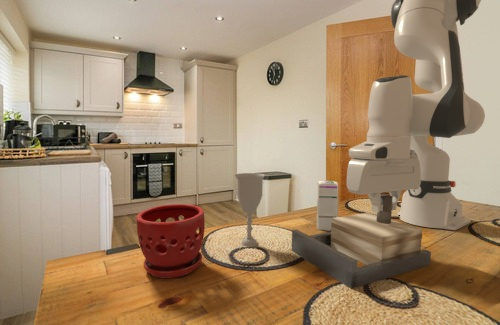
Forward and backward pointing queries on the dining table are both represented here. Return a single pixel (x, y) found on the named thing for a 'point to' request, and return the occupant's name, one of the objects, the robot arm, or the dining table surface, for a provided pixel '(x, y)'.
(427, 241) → the dining table surface
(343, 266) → the bay
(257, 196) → the chalice
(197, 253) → the plant pot
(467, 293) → the dining table surface
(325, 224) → the syrup box
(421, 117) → the robot arm
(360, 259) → the beige knobbed block
